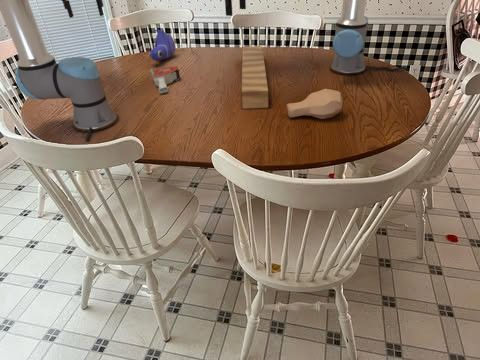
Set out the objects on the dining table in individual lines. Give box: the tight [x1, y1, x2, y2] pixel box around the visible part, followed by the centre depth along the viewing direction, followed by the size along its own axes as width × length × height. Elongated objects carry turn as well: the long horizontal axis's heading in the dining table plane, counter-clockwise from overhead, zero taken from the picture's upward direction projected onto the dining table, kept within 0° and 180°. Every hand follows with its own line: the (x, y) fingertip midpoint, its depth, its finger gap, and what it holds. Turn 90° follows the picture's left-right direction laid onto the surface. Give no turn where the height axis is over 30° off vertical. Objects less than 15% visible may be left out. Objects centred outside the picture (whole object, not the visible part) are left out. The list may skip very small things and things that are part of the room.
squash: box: [285, 88, 344, 120], centre depth 126 cm, size 11×20×9 cm, turn 92°
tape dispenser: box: [149, 65, 181, 94], centre depth 160 cm, size 18×5×20 cm
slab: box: [241, 45, 269, 110], centre depth 158 cm, size 58×10×7 cm, turn 179°
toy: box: [148, 28, 176, 66], centre depth 186 cm, size 10×17×25 cm
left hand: (86, 16), depth 157 cm, fingers open, 13 cm apart
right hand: (236, 12), depth 154 cm, fingers open, 13 cm apart
